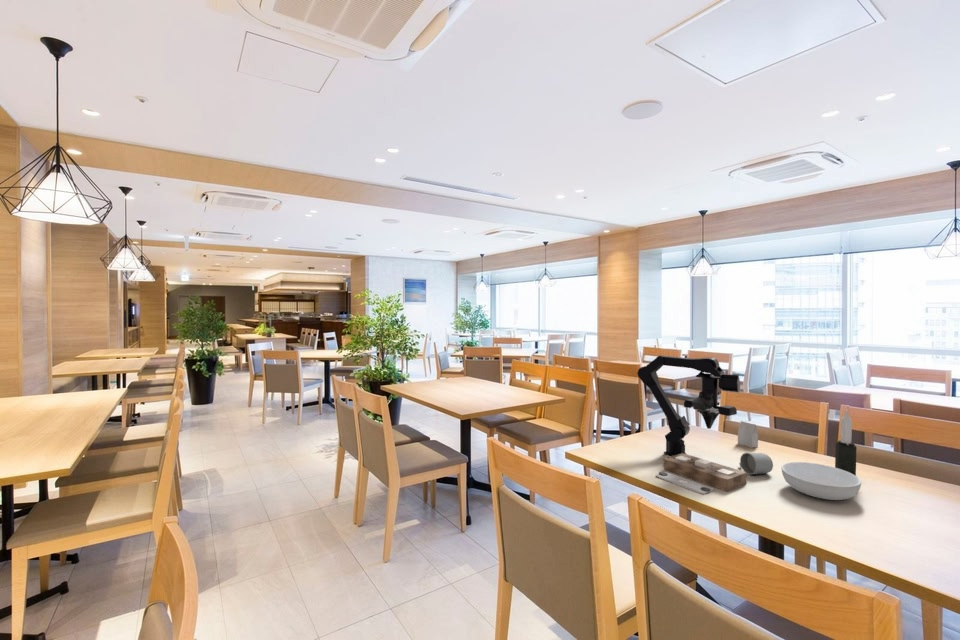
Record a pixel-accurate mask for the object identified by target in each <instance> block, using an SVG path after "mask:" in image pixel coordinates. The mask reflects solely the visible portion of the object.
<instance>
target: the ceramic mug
mask: <svg viewBox="0 0 960 640" xmlns="http://www.w3.org/2000/svg"><path fill="white" fill-rule="evenodd" d="M738 464H739V467H740V468H741V469H742V471H744V472H747V474H748V475H763V474H764V475H765V474H767V473H769V474H770V472H772V470H773V467H774V463H773V459H772V457H770V456H769V455H768V454H766V453H763V452H744V453H743V454H742V455H740V460H739V463H738Z"/></svg>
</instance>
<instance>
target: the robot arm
mask: <svg viewBox="0 0 960 640" xmlns="http://www.w3.org/2000/svg"><path fill="white" fill-rule="evenodd" d="M663 366H665V367H666V366H668V367H677V368H686V369H687V368H688V369H693V370H696V371H699V373H698V374H696V375H695V377H696V378H700V379H701V387H700V388H701V391H699V393H698V396H697V397H696V398H689V399H685V400H684V401H683V407H684V408H688V409H691V408H693V410H696V412H697V413H700V415H701V416H702V418H703V421H704V424H705V426H706V429H709V430H711V428H712V427H713V426H714V425H713V424H714V423H715V421H716V419H717V418H718V416H719V415H722V416H725V417H726V416H727V417H731V416H735V415H737V413H738V410H737V408H736V407H735V406H732V405H726V404H725V405H721V406H720V402H718V398H719V395H720V391H718V388H719V389H720V390H721V391H722V392H729V393H730V392H731V393H738V394H739V393H740V391H741V381H740V375H739V374H737V373H735V374H730V373H729V374H728V373H725V371H724V370H723V368H721V366H720V362H719V360H718V359H717V358H716V357H713V356H712V357H710V356H708V357H698V358H697V357H696V358H690V357H679V356H670V355H669V356H668V355H662V354H661V355H658V356H656V357H655V359H653V360H652V361H650V362H649V363H648V364H647V365H644V366H642V367H639V368H638V370H637V372H636V373H637V374H636V375H637V377H638V378H639V380H640V382H642V383H643V384H644V385H645V386H646V387H648V388H649V390H650V391H651V394H652V395H653V397H654V398H655V400H656V403H657V404H658V405H659V407H660V409H661V410H662V413H663V414H664V415H665V416H664V417H665V418H667V419H666V420H667V424H668V428H669V432H668V433H666V434H665V435H664V438H665V441H666V442H665V451H663V454H666V455H669V456H670V457H671V456H675V455H678V454H681V453H684V454H687V453H686V444H685V440H684V438H685V437H686V436H687V435H688V434H689V433H690V430H691V429H690V425H691V424H690V423H689V422H688V420H687V418H686V417H685V415H682V416H680V415H679V414H678V412H677V411H676V409H675V408H674V406H673V404H672V402H671V401H670V399H669V398H668V395H667V393H666V392H665V391H664V389H663V387H662V385H661V384H660V381H659V380H660V379H659V375H658V373H657V372H658V371H659V370H660V369H661V368H663Z"/></svg>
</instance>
